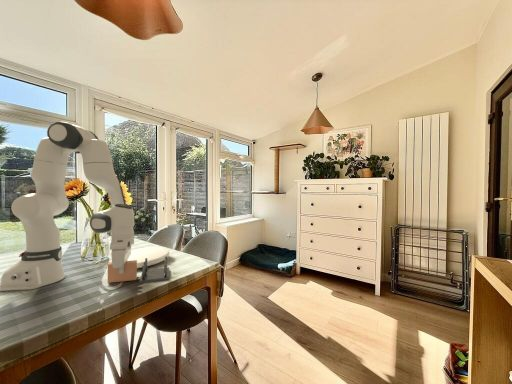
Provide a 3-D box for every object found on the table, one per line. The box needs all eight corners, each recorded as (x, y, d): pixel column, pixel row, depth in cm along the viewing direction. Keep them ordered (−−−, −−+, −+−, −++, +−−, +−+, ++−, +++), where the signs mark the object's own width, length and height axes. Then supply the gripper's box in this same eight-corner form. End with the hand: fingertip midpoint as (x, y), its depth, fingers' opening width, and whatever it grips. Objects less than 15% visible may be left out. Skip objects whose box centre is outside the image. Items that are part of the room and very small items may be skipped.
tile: (107, 282, 99) (107, 264, 99) (109, 280, 102) (109, 262, 101) (135, 279, 102) (136, 262, 102) (136, 277, 105) (137, 260, 105)
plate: (131, 265, 108) (103, 256, 122) (133, 278, 109) (104, 268, 123) (178, 246, 132) (150, 240, 146) (179, 257, 133) (151, 250, 146)
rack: (139, 283, 99) (139, 267, 99) (143, 272, 112) (143, 258, 111) (168, 279, 104) (168, 264, 103) (169, 269, 116) (169, 255, 116)
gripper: (120, 235, 110) (120, 264, 111) (108, 246, 91) (108, 281, 91) (134, 235, 112) (134, 263, 113) (126, 245, 93) (126, 279, 93)
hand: (122, 271), depth 102 cm, fingers closed on tile, 3 cm apart
